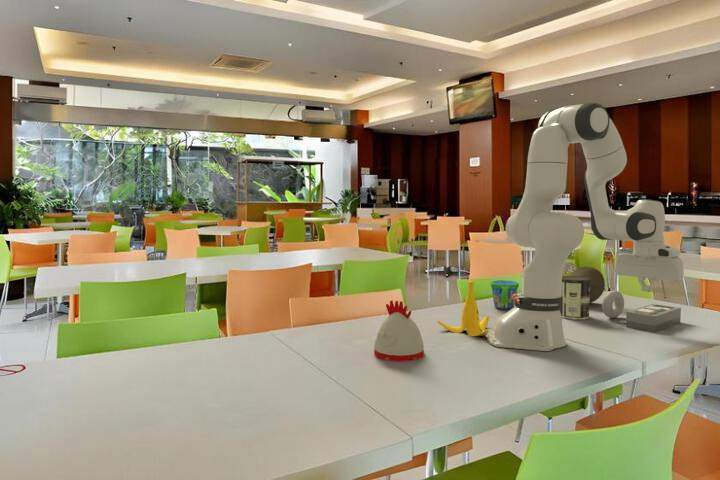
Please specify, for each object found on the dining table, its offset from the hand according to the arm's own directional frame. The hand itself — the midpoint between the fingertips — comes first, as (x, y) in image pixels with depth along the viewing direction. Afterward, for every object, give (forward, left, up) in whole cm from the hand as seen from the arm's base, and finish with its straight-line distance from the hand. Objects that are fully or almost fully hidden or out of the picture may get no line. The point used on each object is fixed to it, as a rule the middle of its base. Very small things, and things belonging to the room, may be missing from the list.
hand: (647, 291), depth 172 cm
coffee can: (-20, +13, -12) cm, 27 cm away
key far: (+8, +9, -9) cm, 15 cm away
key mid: (+4, +4, -8) cm, 10 cm away
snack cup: (-43, +25, -12) cm, 51 cm away
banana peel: (-60, -12, -13) cm, 62 cm away
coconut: (-10, +36, -12) cm, 40 cm away
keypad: (+4, +4, -12) cm, 13 cm away
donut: (-7, +12, -12) cm, 19 cm away
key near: (0, 0, -8) cm, 8 cm away
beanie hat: (-79, -39, -12) cm, 88 cm away
